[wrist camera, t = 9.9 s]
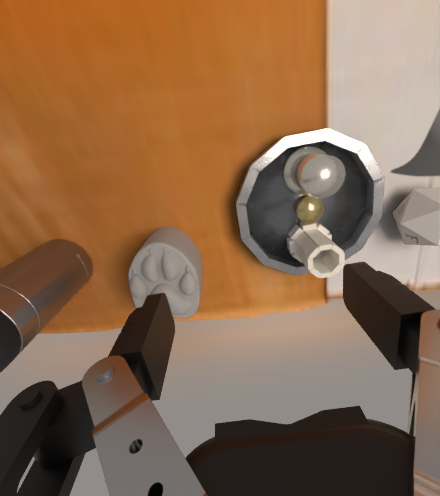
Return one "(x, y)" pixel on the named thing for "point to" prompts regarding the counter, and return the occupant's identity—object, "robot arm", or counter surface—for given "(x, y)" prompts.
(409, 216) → the die
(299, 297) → the counter surface
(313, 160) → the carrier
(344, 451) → the robot arm
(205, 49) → the counter surface
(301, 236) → the flanged octagonal tube
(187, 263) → the paw print stamp
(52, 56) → the counter surface
